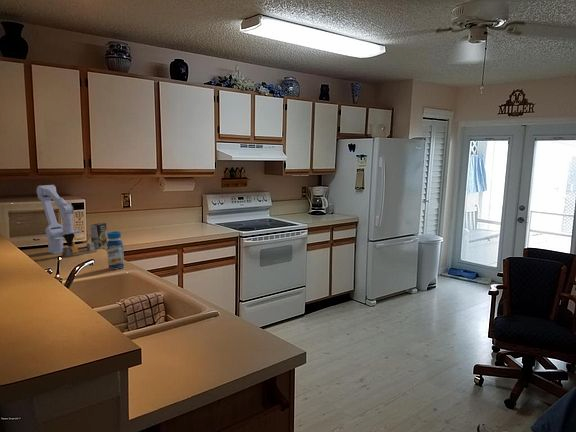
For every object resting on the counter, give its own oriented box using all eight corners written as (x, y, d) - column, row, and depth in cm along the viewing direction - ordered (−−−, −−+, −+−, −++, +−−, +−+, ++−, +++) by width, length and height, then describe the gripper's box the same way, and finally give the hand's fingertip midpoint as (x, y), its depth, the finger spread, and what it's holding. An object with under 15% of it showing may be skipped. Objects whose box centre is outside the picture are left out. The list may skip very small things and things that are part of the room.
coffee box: (100, 249, 288) (98, 225, 286) (91, 248, 289) (89, 225, 287) (108, 246, 297) (106, 222, 295) (100, 245, 298) (98, 222, 296)
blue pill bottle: (128, 266, 241) (125, 231, 239) (118, 270, 233) (115, 234, 230) (114, 265, 244) (112, 230, 241) (105, 269, 236) (102, 233, 233)
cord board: (61, 255, 271) (60, 246, 270) (89, 250, 285) (89, 241, 284) (68, 257, 266) (67, 248, 265) (96, 251, 279) (96, 243, 279)
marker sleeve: (68, 252, 272) (67, 241, 271) (75, 251, 275) (74, 240, 274) (71, 253, 269) (70, 242, 268) (78, 252, 273) (77, 241, 271)
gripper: (58, 226, 260) (60, 248, 262) (82, 223, 271) (84, 244, 273) (53, 225, 264) (55, 247, 266) (77, 222, 276) (78, 243, 278)
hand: (69, 246), depth 270 cm, fingers closed
